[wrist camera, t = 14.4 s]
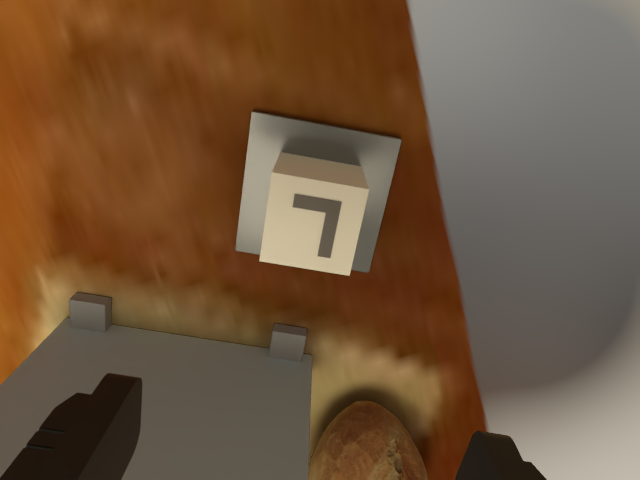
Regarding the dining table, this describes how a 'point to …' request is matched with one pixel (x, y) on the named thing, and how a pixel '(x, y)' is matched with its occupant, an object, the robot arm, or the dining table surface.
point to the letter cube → (314, 214)
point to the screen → (174, 396)
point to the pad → (319, 143)
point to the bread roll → (366, 447)
